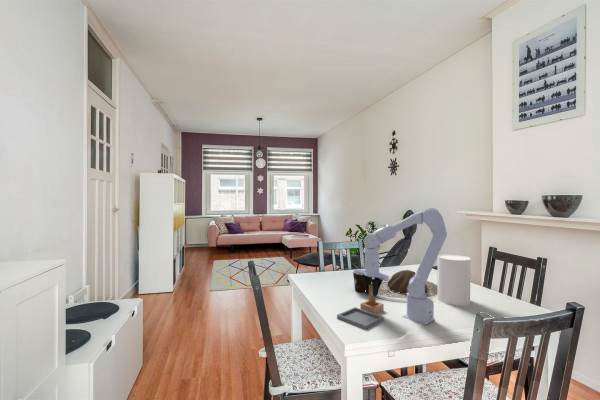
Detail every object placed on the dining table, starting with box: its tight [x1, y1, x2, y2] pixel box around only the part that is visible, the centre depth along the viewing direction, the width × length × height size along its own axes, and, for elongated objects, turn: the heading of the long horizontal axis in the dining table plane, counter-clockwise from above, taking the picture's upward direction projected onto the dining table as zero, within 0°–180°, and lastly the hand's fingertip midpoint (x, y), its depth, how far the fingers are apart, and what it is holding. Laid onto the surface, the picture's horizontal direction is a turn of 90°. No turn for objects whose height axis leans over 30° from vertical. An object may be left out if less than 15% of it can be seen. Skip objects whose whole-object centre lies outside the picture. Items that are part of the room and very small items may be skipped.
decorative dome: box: [387, 269, 428, 294], centre depth 155 cm, size 19×20×10 cm
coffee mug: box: [352, 269, 367, 294], centre depth 152 cm, size 12×9×10 cm
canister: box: [436, 253, 471, 307], centre depth 138 cm, size 14×14×20 cm
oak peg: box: [368, 283, 377, 305], centre depth 125 cm, size 3×3×8 cm
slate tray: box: [336, 306, 385, 330], centre depth 117 cm, size 14×12×2 cm
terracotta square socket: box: [359, 299, 384, 315], centre depth 126 cm, size 7×7×3 cm
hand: (372, 294), depth 125 cm, fingers closed on oak peg, 3 cm apart
